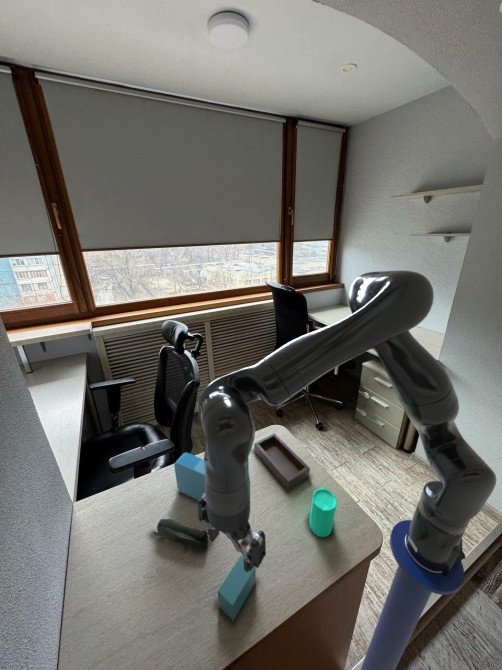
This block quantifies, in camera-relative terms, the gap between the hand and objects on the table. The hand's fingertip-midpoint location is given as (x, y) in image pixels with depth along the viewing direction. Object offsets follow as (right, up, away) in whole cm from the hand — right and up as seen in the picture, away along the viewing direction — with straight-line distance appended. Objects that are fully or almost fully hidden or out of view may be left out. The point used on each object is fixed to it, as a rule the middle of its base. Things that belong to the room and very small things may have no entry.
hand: (230, 551), depth 52 cm
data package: (-12, -7, +30) cm, 33 cm away
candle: (+23, -10, +21) cm, 33 cm away
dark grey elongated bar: (-15, -12, +18) cm, 26 cm away
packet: (+1, -16, +8) cm, 18 cm away
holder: (+14, -2, +40) cm, 42 cm away
